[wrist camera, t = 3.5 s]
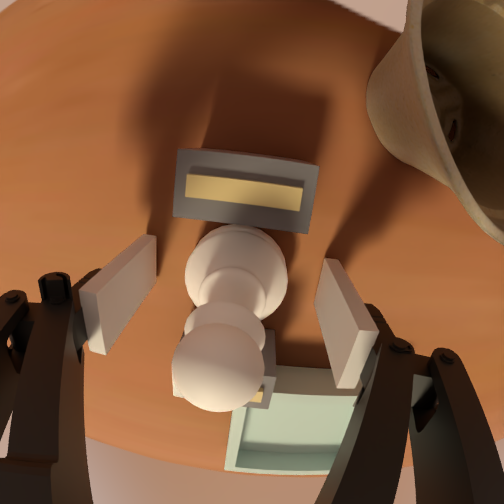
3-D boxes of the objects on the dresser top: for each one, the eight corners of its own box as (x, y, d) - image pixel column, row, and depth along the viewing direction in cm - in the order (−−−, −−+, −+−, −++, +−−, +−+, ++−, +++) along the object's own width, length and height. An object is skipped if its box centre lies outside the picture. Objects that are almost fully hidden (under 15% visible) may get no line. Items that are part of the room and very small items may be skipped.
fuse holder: (304, 160, 14) (321, 166, 10) (268, 361, 18) (268, 413, 14) (200, 147, 14) (175, 149, 10) (188, 350, 18) (172, 399, 14)
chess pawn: (271, 210, 15) (278, 302, 6) (296, 297, 16) (318, 433, 8) (177, 238, 15) (93, 341, 7) (210, 318, 17) (173, 449, 9)
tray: (392, 370, 18) (403, 394, 16) (344, 451, 22) (348, 472, 19) (239, 360, 18) (235, 388, 16) (226, 446, 22) (224, 469, 19)
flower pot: (338, 200, 14) (420, 269, 6) (319, 21, 11) (369, -80, 3) (480, 196, 14) (587, 242, 6) (467, 45, 11) (567, 16, 2)
